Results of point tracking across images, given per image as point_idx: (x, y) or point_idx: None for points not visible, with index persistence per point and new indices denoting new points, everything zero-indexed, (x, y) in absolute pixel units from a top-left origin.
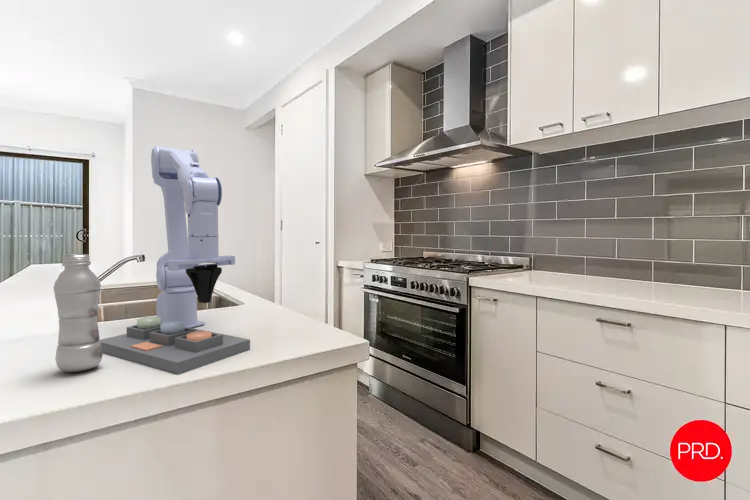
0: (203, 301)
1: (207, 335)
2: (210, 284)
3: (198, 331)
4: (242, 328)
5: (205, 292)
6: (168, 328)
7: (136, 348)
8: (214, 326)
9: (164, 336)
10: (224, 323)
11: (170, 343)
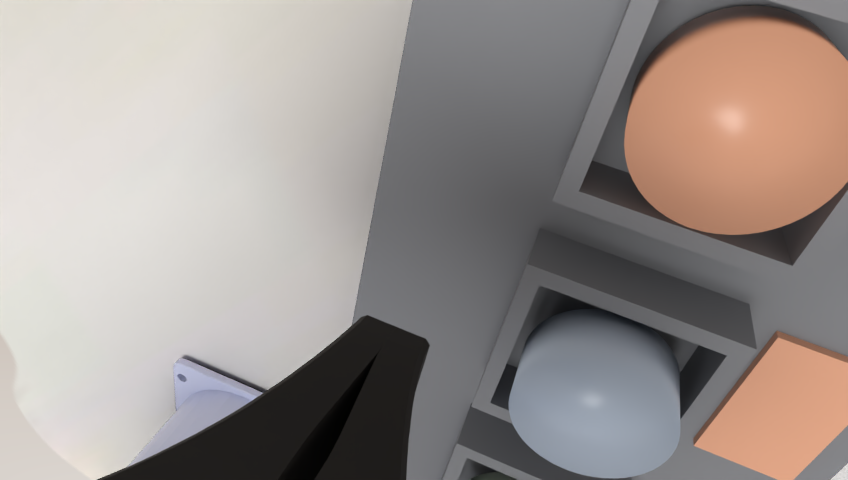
0: (422, 367)
1: (791, 29)
2: (289, 465)
3: (656, 187)
4: (125, 148)
5: (401, 421)
6: (676, 404)
7: (823, 442)
8: (177, 305)
9: (733, 375)
10: (116, 285)
11: (734, 308)
